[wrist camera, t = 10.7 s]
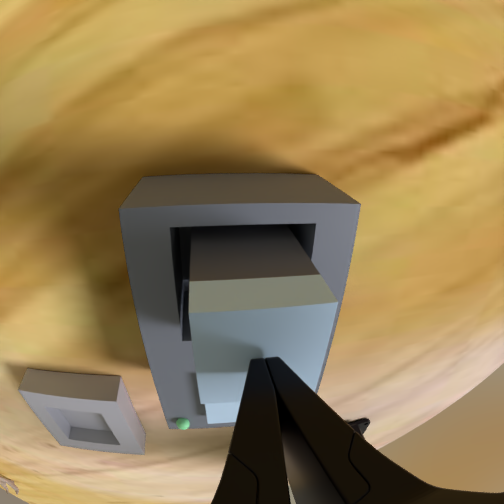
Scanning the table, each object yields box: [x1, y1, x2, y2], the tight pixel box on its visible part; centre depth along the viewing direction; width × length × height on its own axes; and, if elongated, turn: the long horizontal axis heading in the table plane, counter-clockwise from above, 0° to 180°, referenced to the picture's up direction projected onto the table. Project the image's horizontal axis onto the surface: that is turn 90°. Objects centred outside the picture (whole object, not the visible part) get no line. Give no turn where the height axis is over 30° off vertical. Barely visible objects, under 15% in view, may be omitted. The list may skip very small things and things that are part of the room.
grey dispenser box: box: [119, 173, 361, 430], centre depth 16 cm, size 14×9×6 cm, turn 178°
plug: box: [189, 224, 338, 404], centre depth 12 cm, size 4×4×8 cm
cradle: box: [18, 368, 146, 455], centre depth 21 cm, size 9×9×2 cm
